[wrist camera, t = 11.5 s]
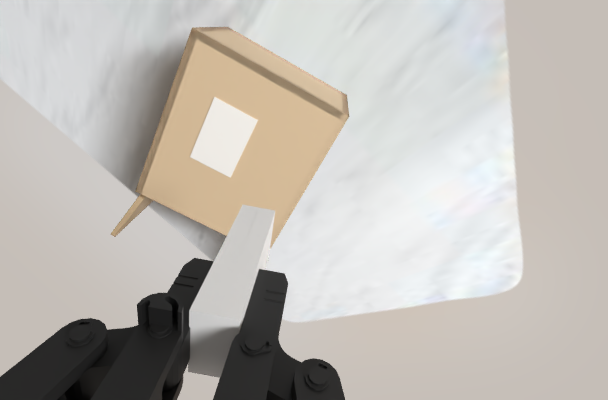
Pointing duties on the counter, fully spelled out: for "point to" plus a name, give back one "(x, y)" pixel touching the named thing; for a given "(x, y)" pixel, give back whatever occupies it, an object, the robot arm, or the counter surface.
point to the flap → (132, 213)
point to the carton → (239, 132)
